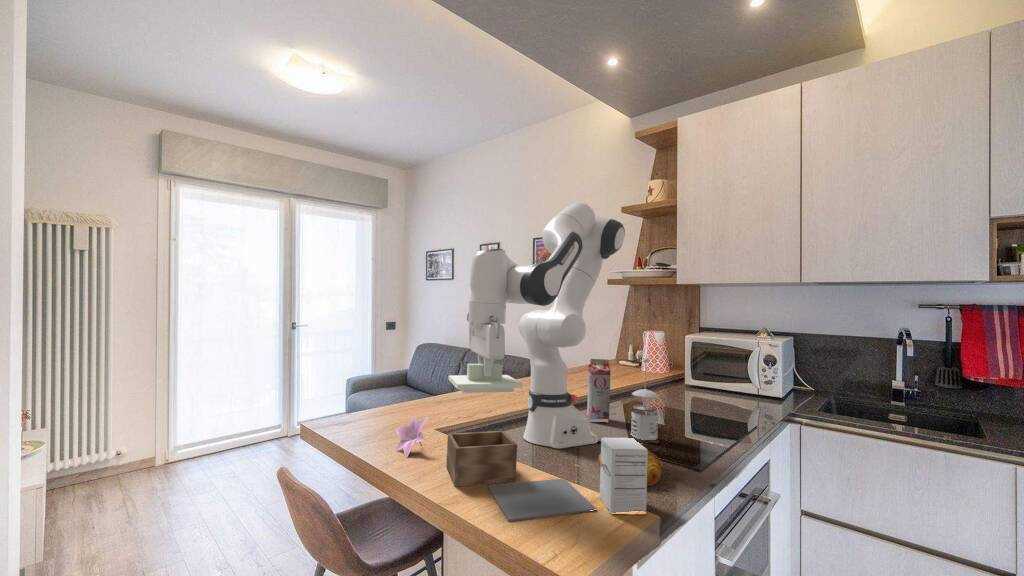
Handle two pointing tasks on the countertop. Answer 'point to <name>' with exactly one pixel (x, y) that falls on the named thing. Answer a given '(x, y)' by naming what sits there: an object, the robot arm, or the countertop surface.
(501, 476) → the box
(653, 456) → the croissant
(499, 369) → the lid
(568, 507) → the mat
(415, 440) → the lily
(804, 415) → the countertop surface
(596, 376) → the juice carton
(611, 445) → the supplement box
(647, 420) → the french press
